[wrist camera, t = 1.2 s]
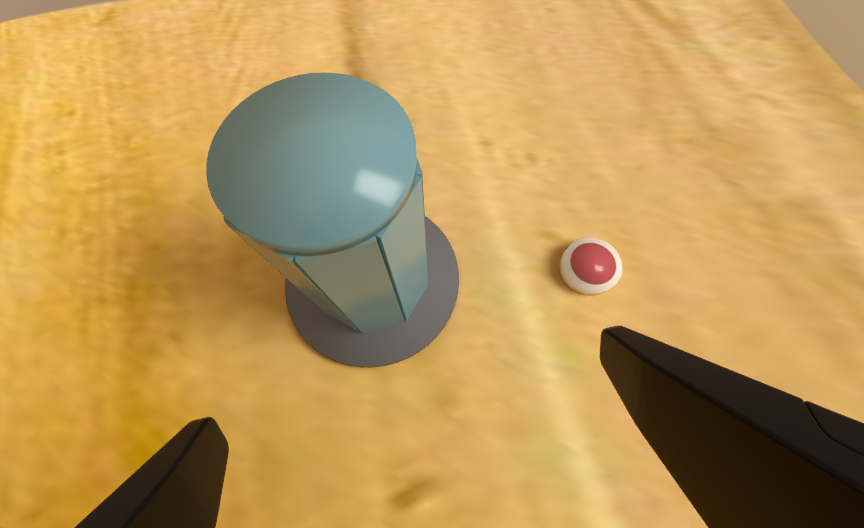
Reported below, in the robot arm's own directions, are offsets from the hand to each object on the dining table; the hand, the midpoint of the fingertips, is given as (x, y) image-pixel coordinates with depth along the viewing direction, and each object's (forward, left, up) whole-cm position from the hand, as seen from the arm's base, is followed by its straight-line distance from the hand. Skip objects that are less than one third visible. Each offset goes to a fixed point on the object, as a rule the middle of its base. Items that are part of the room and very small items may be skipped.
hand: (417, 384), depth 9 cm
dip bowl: (+13, -1, -14) cm, 19 cm away
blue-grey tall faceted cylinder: (+2, +8, -14) cm, 16 cm away
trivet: (+2, +8, -14) cm, 16 cm away
